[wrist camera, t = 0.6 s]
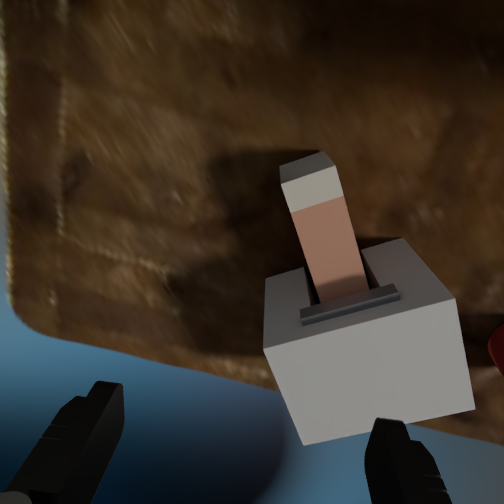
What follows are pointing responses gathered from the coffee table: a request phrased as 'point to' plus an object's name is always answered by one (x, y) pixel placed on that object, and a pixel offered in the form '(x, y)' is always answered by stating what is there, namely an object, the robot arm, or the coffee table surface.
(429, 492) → the robot arm
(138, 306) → the coffee table surface
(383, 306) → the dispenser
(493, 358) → the paper cup
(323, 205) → the pink white-banded pillar
